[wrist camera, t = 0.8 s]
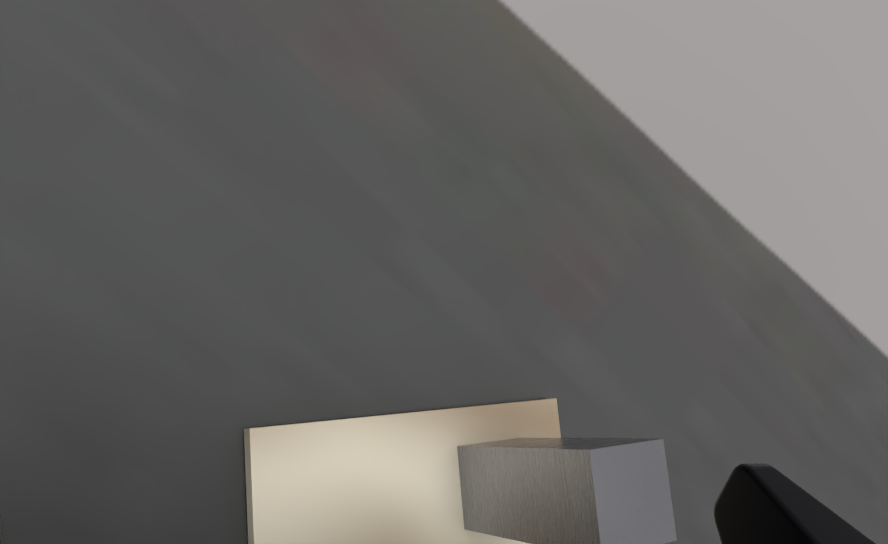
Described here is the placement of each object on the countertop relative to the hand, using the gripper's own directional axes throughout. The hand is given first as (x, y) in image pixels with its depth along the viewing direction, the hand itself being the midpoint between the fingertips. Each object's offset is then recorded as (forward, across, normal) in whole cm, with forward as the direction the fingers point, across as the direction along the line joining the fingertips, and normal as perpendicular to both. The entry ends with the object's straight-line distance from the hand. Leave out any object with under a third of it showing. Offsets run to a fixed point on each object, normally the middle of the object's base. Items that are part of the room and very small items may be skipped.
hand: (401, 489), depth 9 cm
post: (+10, -6, +12) cm, 16 cm away
